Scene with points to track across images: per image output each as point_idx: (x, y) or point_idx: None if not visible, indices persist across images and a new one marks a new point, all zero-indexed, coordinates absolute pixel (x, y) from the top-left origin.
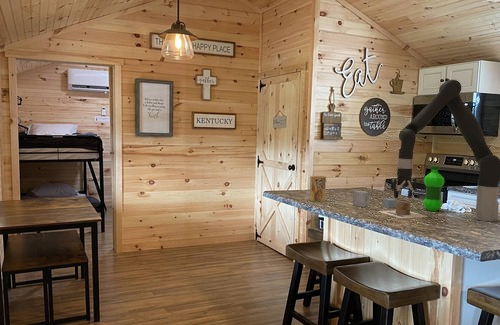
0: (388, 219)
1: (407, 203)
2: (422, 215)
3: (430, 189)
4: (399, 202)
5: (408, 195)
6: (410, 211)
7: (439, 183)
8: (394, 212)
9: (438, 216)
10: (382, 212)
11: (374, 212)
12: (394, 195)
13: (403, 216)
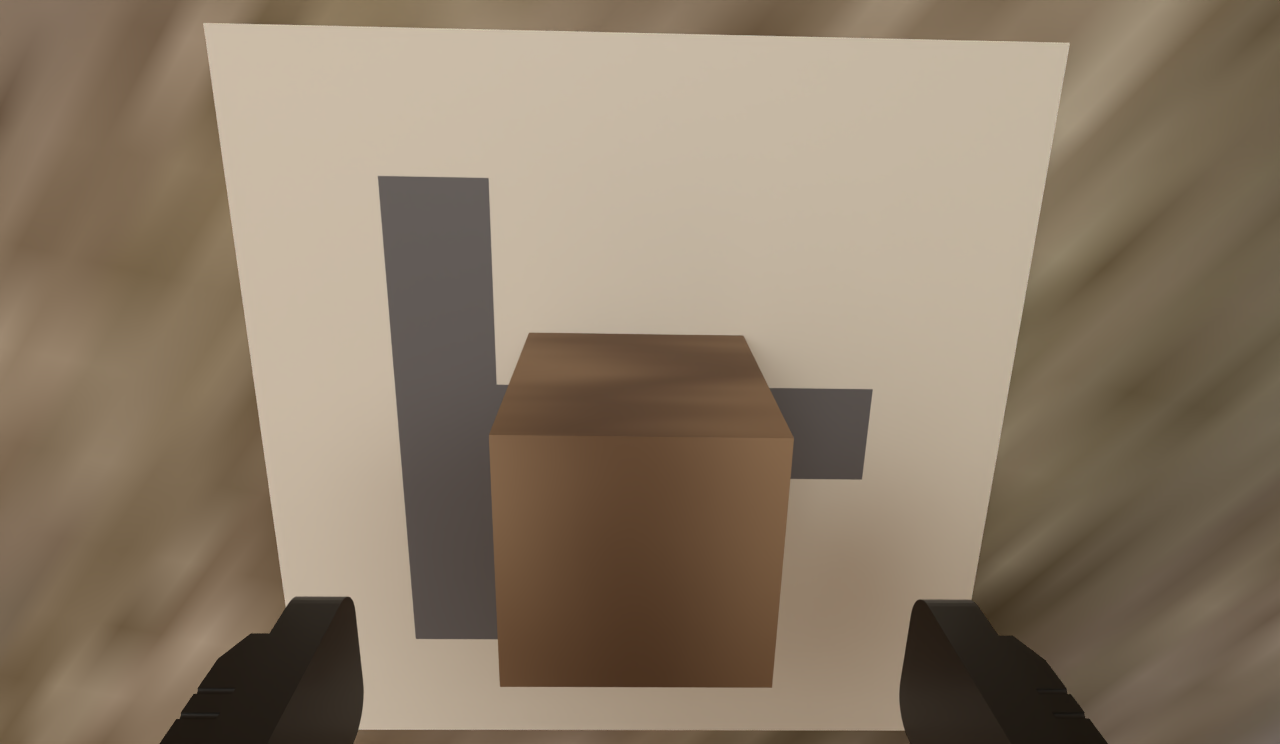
0: (75, 700)
1: (672, 686)
2: None
3: None
4: (539, 524)
5: (940, 667)
6: (1031, 248)
7: None
8: (554, 258)
9: (1188, 698)
10: (253, 185)
11: (103, 38)
12: (220, 695)
13: (470, 635)
